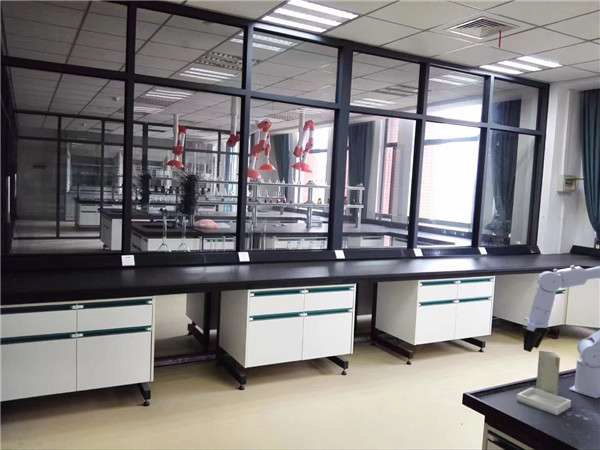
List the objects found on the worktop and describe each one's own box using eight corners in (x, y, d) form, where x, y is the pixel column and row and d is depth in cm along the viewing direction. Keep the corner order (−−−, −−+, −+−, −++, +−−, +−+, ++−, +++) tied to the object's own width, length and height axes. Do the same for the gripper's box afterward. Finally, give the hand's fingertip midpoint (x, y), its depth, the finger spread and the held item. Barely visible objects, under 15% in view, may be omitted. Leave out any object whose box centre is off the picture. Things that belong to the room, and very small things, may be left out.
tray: (531, 393, 149) (531, 387, 149) (570, 407, 140) (571, 400, 140) (516, 400, 143) (517, 394, 143) (557, 415, 134) (557, 408, 134)
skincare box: (557, 398, 146) (561, 358, 145) (541, 396, 147) (545, 356, 146) (550, 390, 153) (553, 351, 152) (535, 388, 153) (538, 350, 153)
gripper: (534, 302, 165) (524, 341, 166) (521, 306, 154) (510, 347, 155) (557, 309, 160) (546, 349, 162) (545, 314, 149) (534, 356, 151)
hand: (530, 348), depth 158 cm, fingers open, 7 cm apart
